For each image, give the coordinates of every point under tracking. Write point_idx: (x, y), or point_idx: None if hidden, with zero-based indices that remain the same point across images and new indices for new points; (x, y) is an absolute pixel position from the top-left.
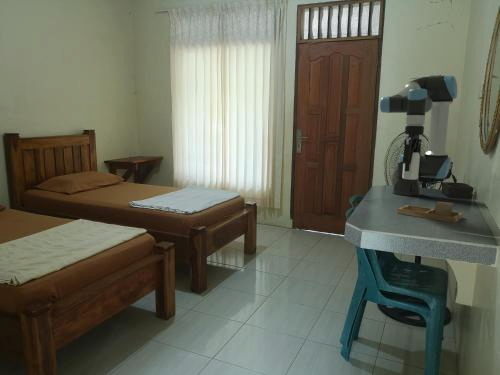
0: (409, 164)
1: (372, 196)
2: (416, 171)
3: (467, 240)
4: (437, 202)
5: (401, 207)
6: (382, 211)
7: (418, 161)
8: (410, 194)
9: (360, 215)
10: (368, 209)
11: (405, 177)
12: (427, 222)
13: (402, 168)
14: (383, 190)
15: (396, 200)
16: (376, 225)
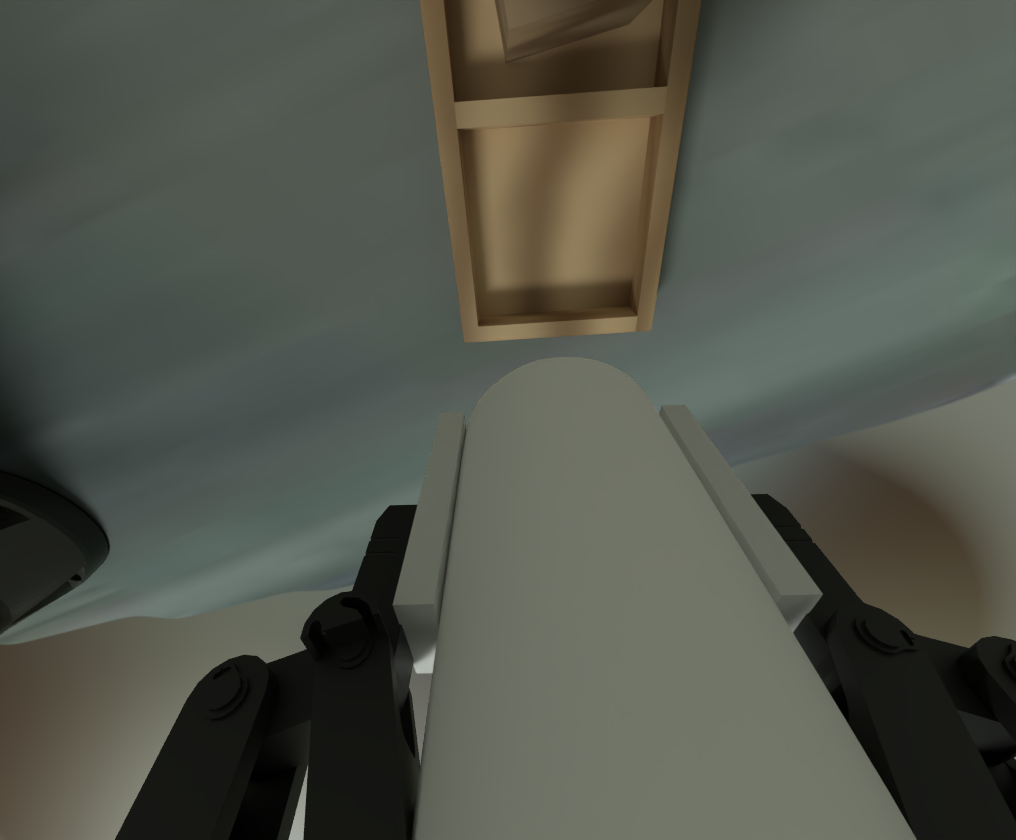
0: (805, 602)
1: (293, 575)
2: (634, 425)
3: None
4: (561, 1)
5: (589, 332)
6: None
7: (675, 601)
8: (37, 495)
9: (779, 431)
10: None
11: None
12: (776, 27)
13: None
14: (99, 607)
15: (254, 481)
16: (1010, 273)
